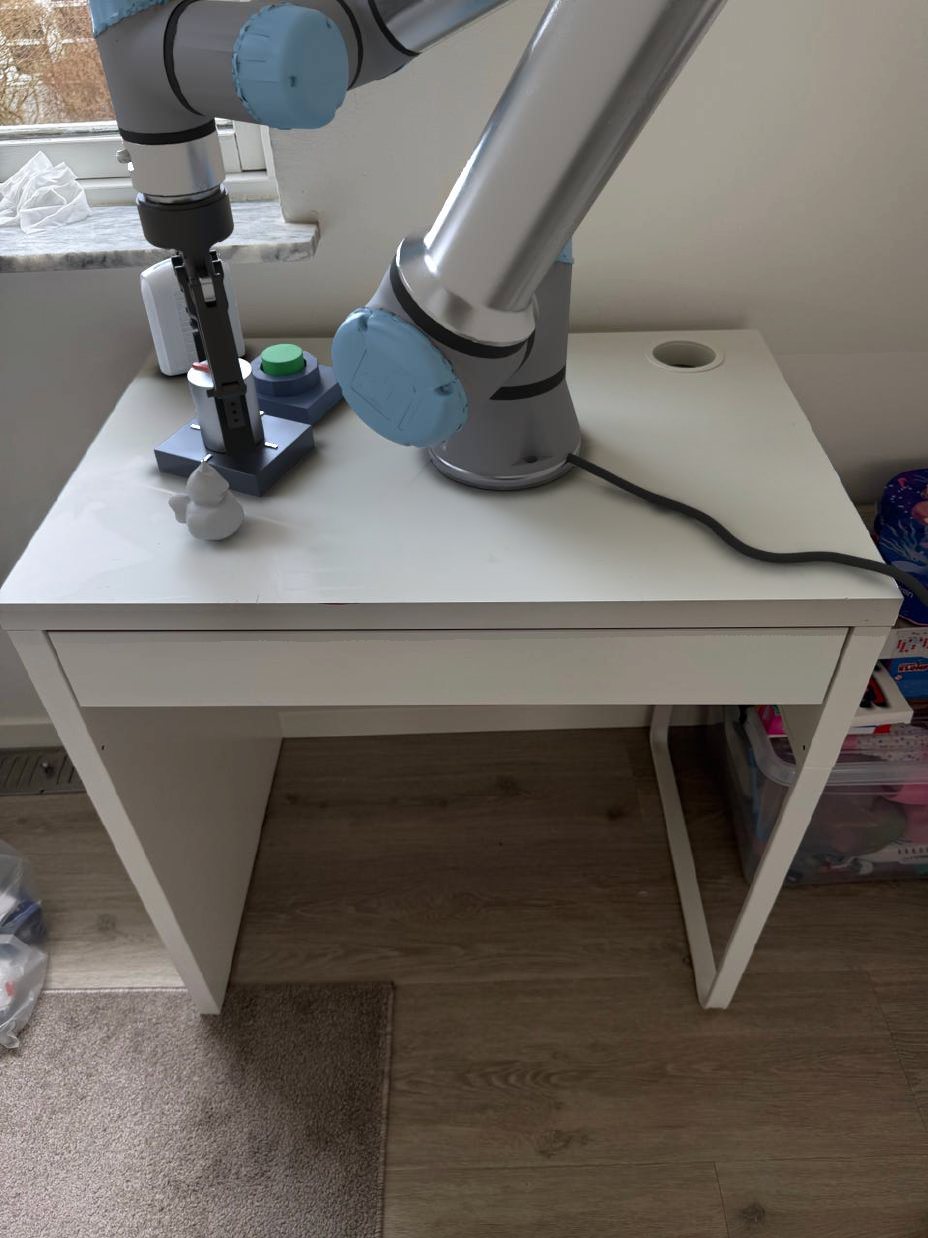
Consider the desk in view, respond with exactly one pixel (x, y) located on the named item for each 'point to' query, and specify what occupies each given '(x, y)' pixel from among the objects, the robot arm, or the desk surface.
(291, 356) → the button
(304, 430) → the dial panel
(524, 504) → the desk surface
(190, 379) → the dial
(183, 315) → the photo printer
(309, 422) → the block
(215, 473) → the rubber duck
